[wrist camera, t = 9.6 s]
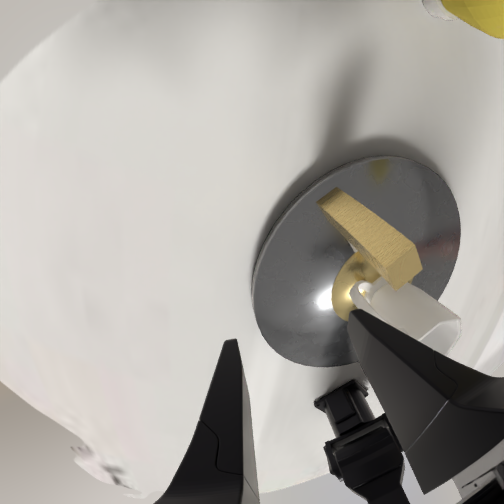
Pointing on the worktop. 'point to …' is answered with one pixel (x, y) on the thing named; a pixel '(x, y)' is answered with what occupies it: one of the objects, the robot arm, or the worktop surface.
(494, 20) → the light bulb
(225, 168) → the worktop surface
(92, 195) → the worktop surface
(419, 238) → the turntable
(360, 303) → the cup
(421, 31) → the worktop surface
